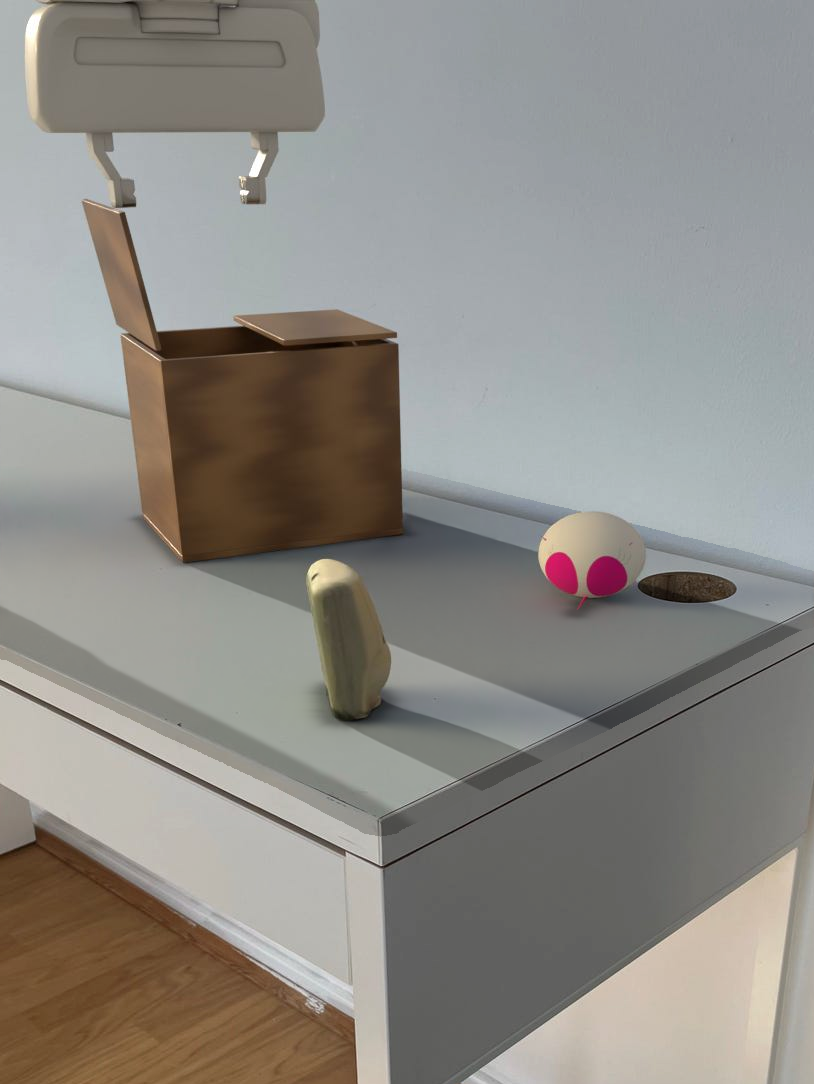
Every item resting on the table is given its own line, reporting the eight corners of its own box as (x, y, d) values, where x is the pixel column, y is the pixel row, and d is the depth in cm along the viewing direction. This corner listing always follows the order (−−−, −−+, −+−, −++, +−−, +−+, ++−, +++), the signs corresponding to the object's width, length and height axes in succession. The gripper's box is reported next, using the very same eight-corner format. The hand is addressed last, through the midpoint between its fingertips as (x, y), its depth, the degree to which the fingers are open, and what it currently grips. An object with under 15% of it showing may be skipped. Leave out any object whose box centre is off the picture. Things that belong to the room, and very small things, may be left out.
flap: (161, 349, 92) (156, 351, 92) (121, 323, 102) (116, 324, 102) (124, 211, 87) (119, 213, 87) (86, 198, 97) (80, 199, 97)
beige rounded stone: (279, 699, 78) (268, 566, 74) (347, 675, 81) (341, 547, 77) (341, 728, 74) (334, 591, 70) (410, 702, 77) (407, 569, 73)
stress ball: (533, 640, 95) (516, 582, 89) (557, 552, 98) (542, 490, 92) (636, 649, 93) (626, 590, 87) (658, 558, 96) (649, 496, 90)
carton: (182, 563, 100) (159, 348, 92) (142, 518, 110) (118, 322, 102) (403, 534, 106) (398, 332, 99) (346, 494, 117) (338, 309, 109)
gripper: (302, -17, 94) (313, 199, 101) (4, -29, 86) (38, 206, 93) (332, -23, 89) (342, 205, 96) (19, -36, 81) (54, 213, 88)
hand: (190, 205), depth 95 cm, fingers open, 8 cm apart
